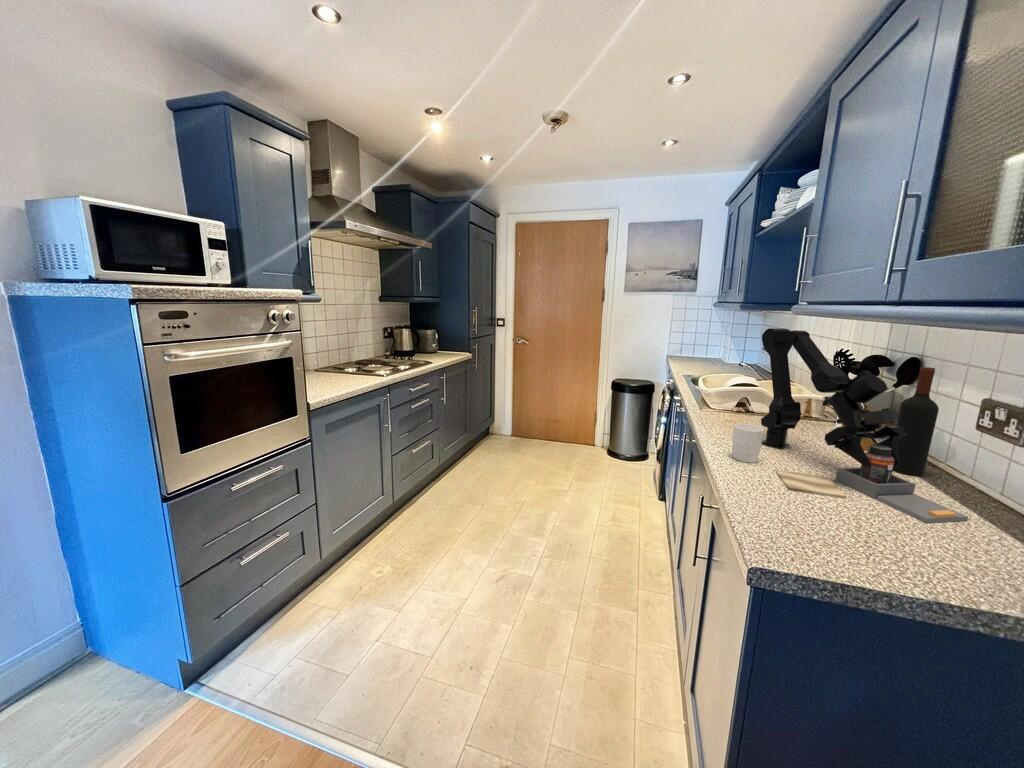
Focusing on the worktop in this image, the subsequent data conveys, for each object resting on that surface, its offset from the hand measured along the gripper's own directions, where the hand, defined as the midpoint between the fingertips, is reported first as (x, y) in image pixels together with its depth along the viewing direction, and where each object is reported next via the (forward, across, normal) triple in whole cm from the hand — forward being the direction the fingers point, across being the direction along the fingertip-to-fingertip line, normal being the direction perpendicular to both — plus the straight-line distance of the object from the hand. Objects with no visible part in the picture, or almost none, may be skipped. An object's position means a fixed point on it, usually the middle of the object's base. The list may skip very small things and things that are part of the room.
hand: (882, 466), depth 101 cm
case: (+8, 0, +2) cm, 8 cm away
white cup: (-11, -20, +21) cm, 31 cm away
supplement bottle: (+4, 0, +6) cm, 7 cm away
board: (+1, -15, +8) cm, 17 cm away
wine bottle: (-3, +22, +13) cm, 25 cm away
